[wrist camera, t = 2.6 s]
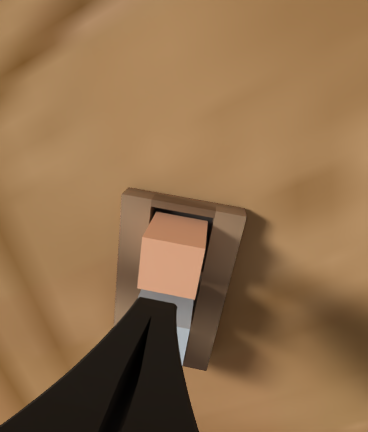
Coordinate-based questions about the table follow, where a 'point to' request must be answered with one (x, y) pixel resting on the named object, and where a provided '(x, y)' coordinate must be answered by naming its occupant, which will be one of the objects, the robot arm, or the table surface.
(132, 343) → the robot arm
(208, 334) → the brown flat frame
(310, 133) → the table surface
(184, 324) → the key slate
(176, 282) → the key terracotta
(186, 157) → the table surface
